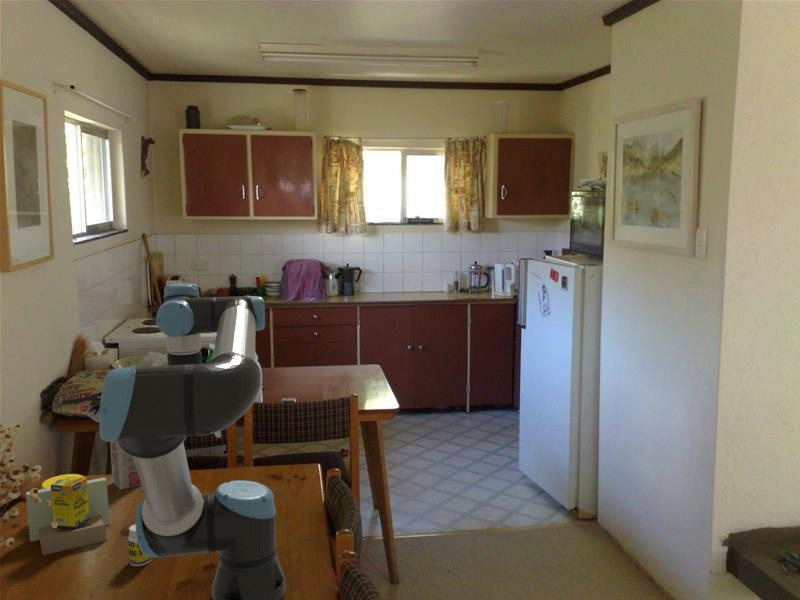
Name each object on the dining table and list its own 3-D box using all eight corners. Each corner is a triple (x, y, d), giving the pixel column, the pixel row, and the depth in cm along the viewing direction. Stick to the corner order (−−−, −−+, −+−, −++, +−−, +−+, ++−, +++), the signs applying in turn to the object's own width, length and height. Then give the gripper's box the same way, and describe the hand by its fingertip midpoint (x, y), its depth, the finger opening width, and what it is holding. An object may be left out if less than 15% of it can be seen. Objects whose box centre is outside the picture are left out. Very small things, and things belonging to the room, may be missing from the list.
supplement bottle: (125, 566, 159) (122, 531, 158) (135, 556, 164) (133, 521, 163) (144, 567, 159) (142, 532, 157) (155, 557, 163) (153, 522, 162)
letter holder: (115, 538, 172) (112, 492, 171) (33, 557, 163) (29, 508, 162) (108, 521, 182) (105, 477, 180) (29, 538, 173) (26, 492, 171)
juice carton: (135, 477, 211) (131, 406, 209) (143, 484, 206) (139, 411, 203) (112, 483, 207) (108, 410, 204) (120, 489, 202) (115, 415, 199)
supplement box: (75, 530, 168) (71, 486, 167) (53, 528, 169) (49, 484, 168) (90, 519, 174) (87, 476, 172) (69, 518, 175) (65, 475, 174)
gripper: (232, 342, 170) (236, 427, 172) (123, 354, 157) (129, 446, 160) (242, 348, 163) (246, 436, 166) (129, 360, 151) (135, 456, 153)
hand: (188, 441), depth 163 cm, fingers open, 13 cm apart
